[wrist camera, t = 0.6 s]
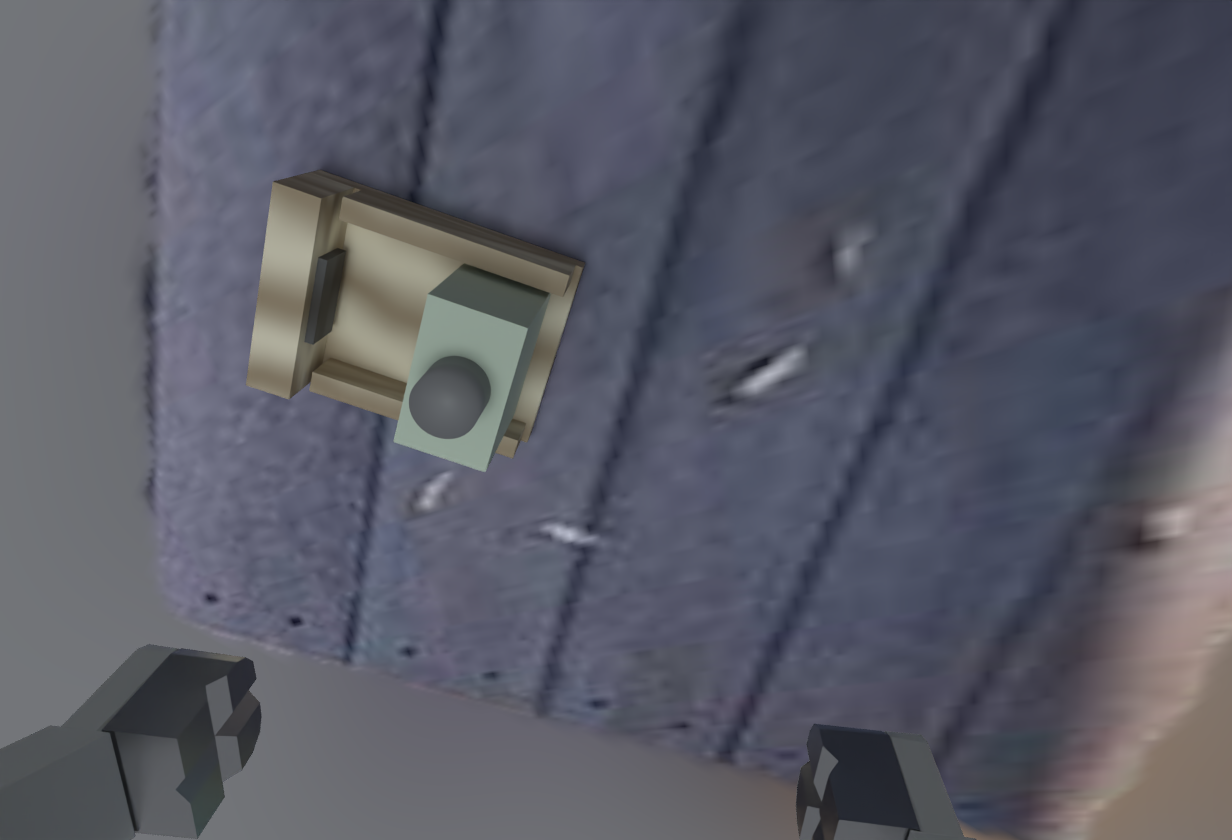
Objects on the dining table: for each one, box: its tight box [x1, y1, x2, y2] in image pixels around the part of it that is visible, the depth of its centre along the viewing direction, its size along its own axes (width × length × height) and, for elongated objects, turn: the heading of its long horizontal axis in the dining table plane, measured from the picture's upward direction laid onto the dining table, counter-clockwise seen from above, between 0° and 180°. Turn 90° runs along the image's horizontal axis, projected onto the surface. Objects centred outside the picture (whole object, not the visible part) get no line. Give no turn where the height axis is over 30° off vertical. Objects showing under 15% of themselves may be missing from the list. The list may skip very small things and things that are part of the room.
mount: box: [246, 170, 585, 458], centre depth 52 cm, size 14×19×6 cm
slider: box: [394, 263, 551, 472], centre depth 48 cm, size 10×6×12 cm, turn 162°
